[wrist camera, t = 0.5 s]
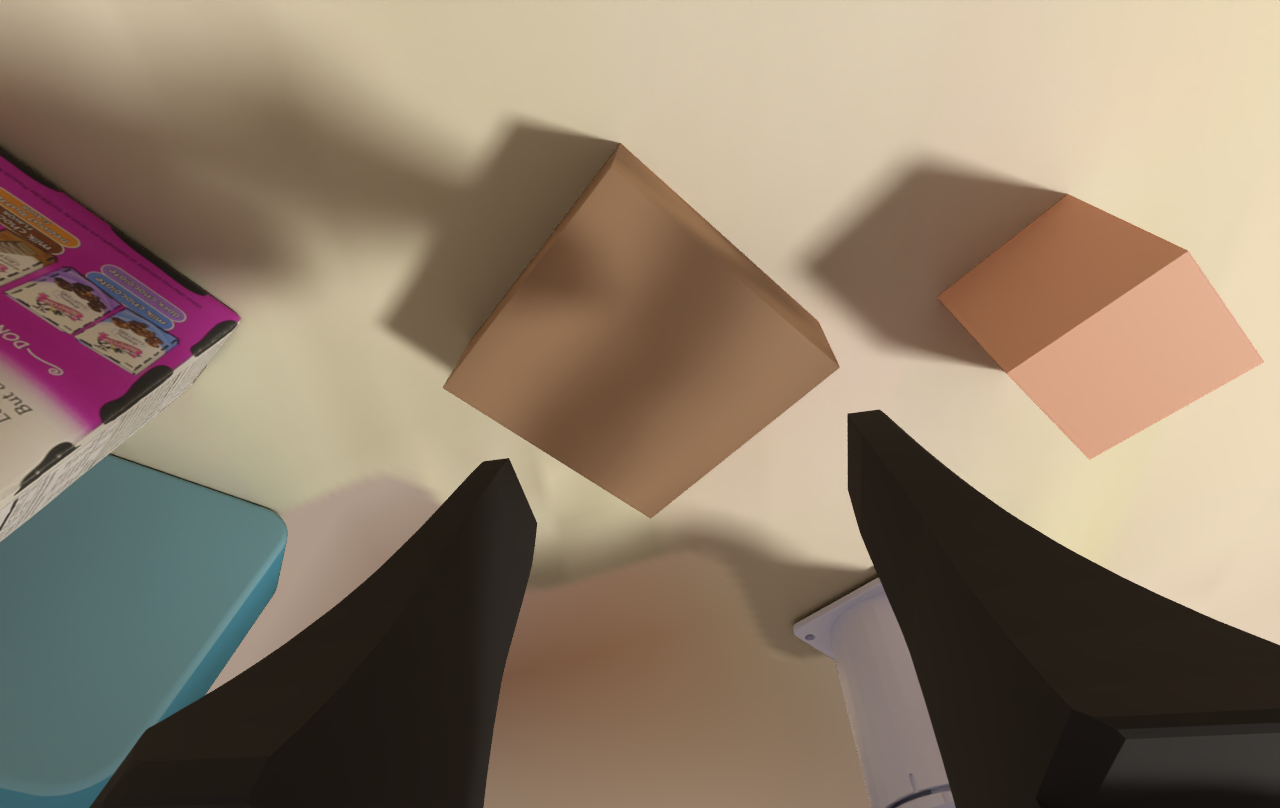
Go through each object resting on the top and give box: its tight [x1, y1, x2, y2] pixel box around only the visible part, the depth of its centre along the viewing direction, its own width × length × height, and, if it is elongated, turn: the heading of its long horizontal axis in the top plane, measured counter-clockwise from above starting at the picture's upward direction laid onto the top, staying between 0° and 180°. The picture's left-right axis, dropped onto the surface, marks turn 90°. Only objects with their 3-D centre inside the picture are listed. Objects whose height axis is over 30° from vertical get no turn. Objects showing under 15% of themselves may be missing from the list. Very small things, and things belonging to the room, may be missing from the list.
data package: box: [0, 454, 288, 808], centre depth 22 cm, size 12×4×12 cm, turn 63°
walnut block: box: [443, 143, 840, 518], centre depth 20 cm, size 9×9×4 cm
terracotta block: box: [937, 194, 1264, 460], centre depth 17 cm, size 4×4×5 cm
